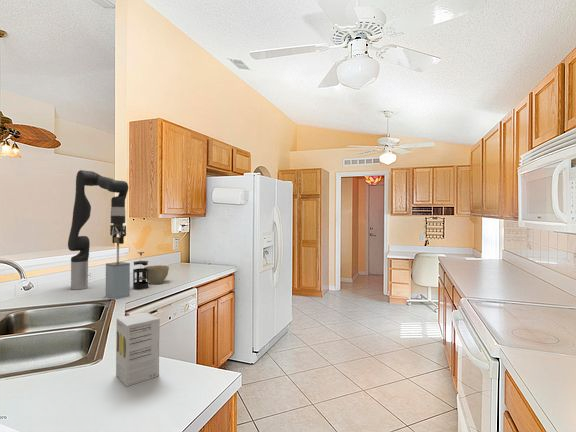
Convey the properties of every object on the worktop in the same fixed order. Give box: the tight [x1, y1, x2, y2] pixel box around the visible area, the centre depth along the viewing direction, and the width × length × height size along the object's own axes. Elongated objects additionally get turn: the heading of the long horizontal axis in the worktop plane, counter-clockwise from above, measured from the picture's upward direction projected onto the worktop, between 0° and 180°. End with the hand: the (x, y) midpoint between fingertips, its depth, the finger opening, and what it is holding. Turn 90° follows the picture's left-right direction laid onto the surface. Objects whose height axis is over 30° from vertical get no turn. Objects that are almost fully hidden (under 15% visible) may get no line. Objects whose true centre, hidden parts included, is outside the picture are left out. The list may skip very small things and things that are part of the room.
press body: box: [105, 261, 131, 300], centre depth 187 cm, size 9×9×19 cm
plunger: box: [113, 236, 120, 264], centre depth 187 cm, size 6×6×24 cm
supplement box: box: [115, 311, 161, 387], centre depth 95 cm, size 10×9×17 cm
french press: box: [132, 251, 150, 291], centre depth 210 cm, size 12×9×23 cm
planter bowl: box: [143, 265, 170, 285], centre depth 226 cm, size 16×16×11 cm
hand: (117, 243), depth 187 cm, fingers open, 7 cm apart
